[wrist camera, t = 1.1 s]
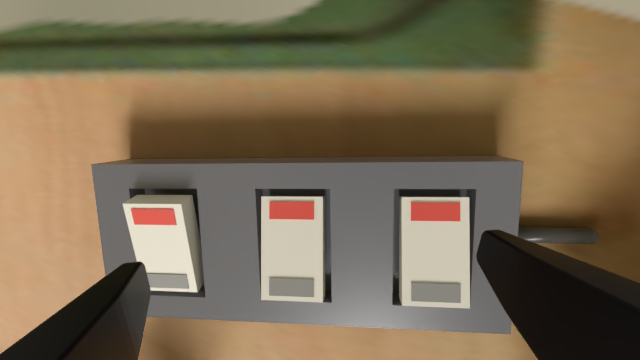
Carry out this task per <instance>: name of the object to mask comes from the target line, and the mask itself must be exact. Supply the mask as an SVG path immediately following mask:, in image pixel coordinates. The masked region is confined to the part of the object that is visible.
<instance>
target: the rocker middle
mask: <svg viewBox="0 0 640 360" xmlns="http://www.w3.org/2000/svg"><path fill="white" fill-rule="evenodd" d="M324 297H325V196H261V300H273V301H298V302H322V303H323V300H324Z"/></svg>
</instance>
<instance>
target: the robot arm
mask: <svg viewBox="0 0 640 360" xmlns="http://www.w3.org/2000/svg"><path fill="white" fill-rule="evenodd" d="M476 258H477V262H478V264H479V266H480V268H481V269H482V271H483V273H484V275H485V277H486V278H487V280H488V282H489V284H490V286H491V287H492V289H493V291H494V293H495V295H496V296H497V298H498V300H499V302H500V303H501V305H502V307H503V309H504V310H505V312H506V313H507V315H508V316H509V318H510V319H511V321H512V322H513V324H514V325H515V327H516V328H517V330H518V331H519V332H520V334H521V335H522V337H523V338H524V340H525V341H526V343H527V344H528V346H529V347H530V348H531V350H532V351H533V353H534V354H535V356H536V357H537V359H538V360H640V283H637V282H635V281H632V280H630V279H627V278H624V277H622V276H619V275H616V274H614V273H611V272H609V271H606V270H603V269H601V268H598V267H596V266H593V265H590V264H588V263H585V262H583V261H580V260H577V259H575V258H572V257H569V256H567V255H564V254H562V253H559V252H556V251H554V250H551V249H549V248H546V247H543V246H541V245H538V244H536V243H533V242H530V241H528V240H525V239H523V238H520V237H517V236H515V235H512V234H509V233H507V232H504V231H502V230H498V229H495V230H486V231H484V232H483V233H482V235H481V238H480V242H479V246H478V250H477V254H476ZM150 295H151V290H150V285H149V281H148V277H147V272H146V268H145V265H144V264H143V263H142V262H140V261H139V262H128V263H123V264H122V265H120V266H119V267H117V268H116V269H115V270H113V271H112V272H111V273H109V274H108V275H107V276H105V277H104V278H103V279H101V280H100V281H98V282H97V283H96V284H94V285H93V286H92V287H90V288H89V289H88V290H86V291H85V292H84V293H82V294H81V295H80V296H78V297H77V298H75V299H74V300H73V301H71V302H70V303H69V304H67V305H66V306H65V307H63V308H62V309H61V310H59V311H58V312H57V313H55V314H54V315H52V316H51V317H50V318H48V319H47V320H46V321H44V322H43V323H42V324H40V325H39V326H38V327H36V328H35V329H34V330H32V331H31V332H29V333H28V334H27V335H25V336H24V337H23V338H21V339H20V340H19V341H17V342H16V343H15V344H13V345H12V346H11V347H9V348H8V349H6V350H5V351H4V352H2V353H1V354H0V360H138V356H139V351H140V347H141V342H142V337H143V332H144V327H145V322H146V317H147V312H148V307H149V302H150Z"/></svg>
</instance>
